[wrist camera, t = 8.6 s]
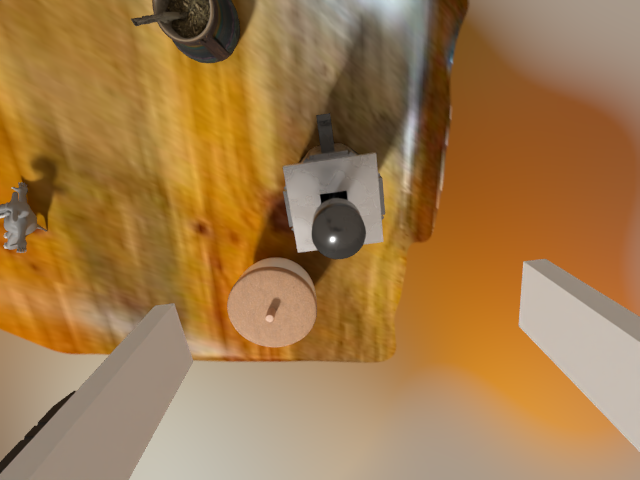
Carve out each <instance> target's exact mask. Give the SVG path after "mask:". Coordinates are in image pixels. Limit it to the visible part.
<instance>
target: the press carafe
mask: <svg viewBox="0 0 640 480" xmlns="http://www.w3.org/2000/svg"><path fill="white" fill-rule="evenodd" d="M316 116H317V123H318V131H319V138H320V146H317V147H313V148H312V149H310V150H309V151H308V153H307V154H306V155H305V156H304V157H303V158H302V160H301V161H300V163H296V164H289V165H284V166H283V171H284V177H285V182H286V186H285V187H284V191H283V194H284V199H285V205H286V210H287V216H288V222H289V227H292V228H291V230H293V231H294V234H295V239H296V245H297V251H298V253H299V252H307V251H315V250H317V248H316V247H315V245H314V243H313V241H312V224H313V217H314V213H315V211H316V210H317V208H318V207H319V206H320V205H321V197H320V194H325V193H333V192H340V191H346V192H347V200H348V201H350V202H351V203H353V204H354V205H355V206H356V207H357V209H358V210H359V212H360V215H361V217H362V220H363V222H364V225H365V229H366V238H365V241H364V244H370V243H378V242H383V232H382V219H383V218H384V217H383V215H384V214H385V208H384V194H383V181H382V177H381V176H380V174H379V173H378V169H377V157H376V153H375V152H373V153H366V154H359V155H358V154H357V153H356V152H355V151H354V150H352V149H351V148H349V147H347V146H346V145H345V144H342V143H337V144H336V143H334V141H333V133H332V125H331V117H330V113H329V114H323V115H316Z"/></svg>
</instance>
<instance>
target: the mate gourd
mask: <svg viewBox="0 0 640 480" xmlns="http://www.w3.org/2000/svg"><path fill="white" fill-rule="evenodd" d="M152 3H153V11H154V15H150V16H142V18H134V19H131V20H132V21H133V23H134V25H135V26H139V25H141V24H150V23H153V22H158V24H159V26H160V28H161V29H162V31H163V32H164V33H165V34H166V35H167V36H168V37H170V38H171V39H172V40H173V42H174V43H175V45H176V46H177V48H178V49H179V50H180V51H182V52H183V53H184V54H185V55H186V56H188V57H189V58H191V59H194V60H196V61H198V62H202V63H215V62H219V61H223V60H224V59H227V58H228V57H229V56H231V54H232V53H233V51H234V49H235V47H236V46H237V43H238V40H239V36H240V26H239V19H238V14H237V11H236V9H235V7H234V5H233V3H232V1H231V0H153V2H152Z"/></svg>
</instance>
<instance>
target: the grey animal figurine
mask: <svg viewBox="0 0 640 480" xmlns="http://www.w3.org/2000/svg"><path fill="white" fill-rule="evenodd" d="M18 184H19V188H15V187H12V189H14V190H16V191H17V192H18V193H19V200H18V193H17V192H14V193H13V195H12V200H11V201H10V202H9V203H6V204H1V205H0V218H3V217H5V218H4V227H5V229H6V230H7V231H8V232H7V233H5V234H4V237H5V238H8V242H7V243H5V244H4V248H6V249H17V252H19V249H20V252H19V253H22V252H23V253H24V249H25V252H26V244H27V243H26V240H25V236H26V235H28V234H30V233H32V232H33V231H35V230H36V228H38V229H42V230H44V231H47V230H46V229H44V228H42V227H41V226H39V225H38V224H37V217H36V215H35V214H34V213H33V211H32V210H31V208H30V206H29V205H28V204H27V198H26V194H27V192H28V189H27V185H25V183H23V182H21V183H20V182H19V183H18ZM23 184H24V186H23ZM22 249H23V251H22Z"/></svg>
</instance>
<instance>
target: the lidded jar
mask: <svg viewBox="0 0 640 480" xmlns="http://www.w3.org/2000/svg"><path fill="white" fill-rule="evenodd" d="M227 308H228V314H229V318H230V320H231V323H232V324H233V326H234V327H235V329H236V330H237V331H238V332H239V333H240V334H241V335H242V336H243V337H244V338H246V339H248V340H249V341H251V342H253V343H255V344H258V345H262V346H266V347H283V346H287V345H290V344H293V343H295V342H297V341H299V340H301V339H302V338H303V337H305V336H306V335H307V334H308V332H309V331H310V330H311V328H312V327H313V325H314V323H315V320H316V315H317V303H316V293H315V288H314V285H313V282H312V280H311V278H310V276H309V274H308V273H307V272H306V271H305V270H304V269H303V268H302V267H301V266H300V265H299V264H297V263H296V262H294V261H292V260H289V259H286V258H280V257H273V258H267V259H263V260H260V261H258V262H256V263H255V264H253V265H252V266H250V267H249V268H248V269H247V270H246V271H245V272H244V273H243V274H242V275H241V277H240V278H239V279H238V281H237V282H236V283H235V285H234V286H233V288H232V290H231V292H230V294H229V298H228V304H227Z"/></svg>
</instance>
